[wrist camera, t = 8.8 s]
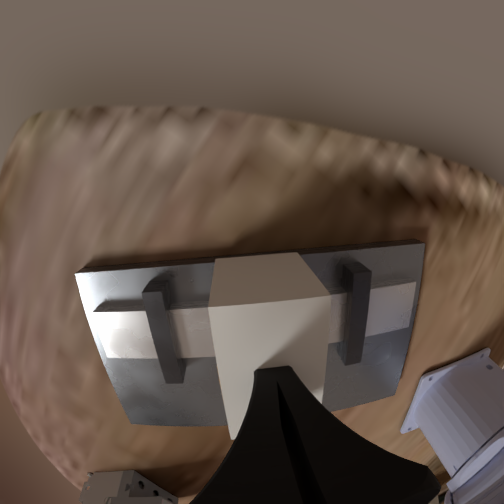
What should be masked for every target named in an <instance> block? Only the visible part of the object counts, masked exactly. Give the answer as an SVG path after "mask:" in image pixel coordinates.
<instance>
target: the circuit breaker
mask: <svg viewBox="0 0 504 504" xmlns="http://www.w3.org/2000/svg"><path fill="white" fill-rule="evenodd" d="M87 475H88V476H89V479H88V482H84V485H83V489H82V492H81V495H80V498H79V501H80V502H82V504H178V498H177V497H175V496H173V495H172V494H170V493H168V492H167V491H165V490H163V489H162V488H160V487H158V486H157V485H155V484H154V483H152V482H151V481H149V480H148V479H146V478H145V477H143V476H142V475H140V474H139V473H137V472H136V471H134V470H127V471H114V472H94V474H91V473H88V474H87ZM142 484H143V485H144V487H142ZM87 486H90V488H89V490H86V489H87ZM156 493H158V496H157V495H156Z"/></svg>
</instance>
